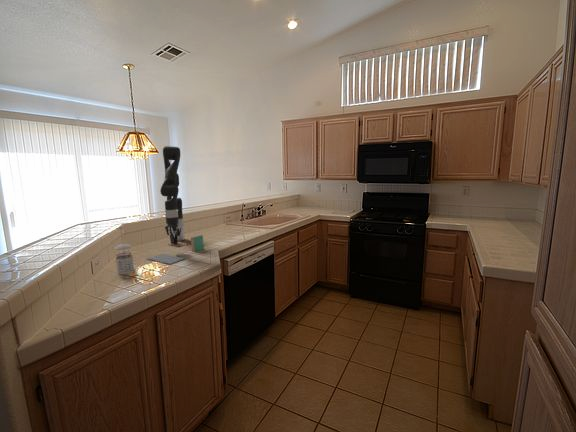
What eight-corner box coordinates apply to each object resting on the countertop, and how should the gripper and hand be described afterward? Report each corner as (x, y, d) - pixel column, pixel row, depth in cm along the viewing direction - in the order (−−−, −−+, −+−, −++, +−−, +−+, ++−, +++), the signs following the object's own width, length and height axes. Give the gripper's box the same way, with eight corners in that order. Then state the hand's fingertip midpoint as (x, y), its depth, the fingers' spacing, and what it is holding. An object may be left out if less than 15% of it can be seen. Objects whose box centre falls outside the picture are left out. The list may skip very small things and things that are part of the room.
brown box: (168, 245, 182) (167, 235, 180) (177, 242, 187) (176, 232, 186) (178, 247, 177) (177, 237, 175) (187, 244, 183) (186, 234, 181)
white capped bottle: (131, 266, 160) (126, 224, 156) (140, 271, 153) (135, 226, 149) (112, 271, 152) (106, 227, 148) (120, 276, 145) (115, 229, 141)
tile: (192, 251, 188) (190, 237, 186) (201, 248, 195) (200, 234, 193) (194, 252, 187) (193, 237, 185) (203, 249, 194) (202, 235, 192)
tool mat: (146, 259, 173) (146, 258, 173) (162, 254, 183) (162, 253, 183) (169, 264, 162) (169, 263, 162) (185, 259, 172) (185, 258, 172)
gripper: (184, 216, 180) (186, 242, 183) (169, 214, 187) (171, 239, 190) (174, 218, 174) (176, 244, 177) (159, 216, 181) (162, 241, 184)
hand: (174, 241), depth 183 cm, fingers closed on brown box, 3 cm apart
